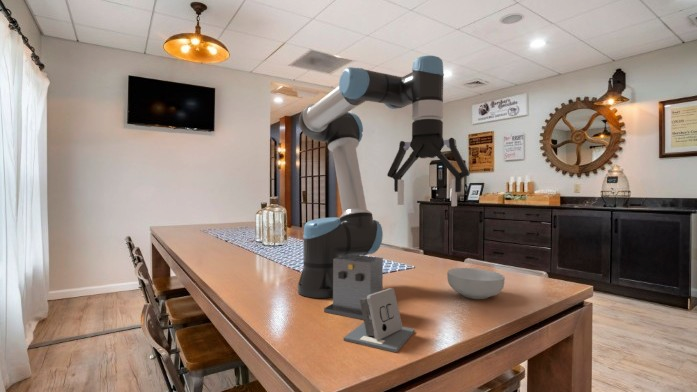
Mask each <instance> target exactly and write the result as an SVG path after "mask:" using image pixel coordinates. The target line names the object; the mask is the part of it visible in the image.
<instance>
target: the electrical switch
mask: <svg viewBox="0 0 697 392" xmlns="http://www.w3.org/2000/svg"><path fill="white" fill-rule="evenodd" d="M397 301H398V300H397V296H396V291H395V289H394V288H393V287H392V288H390V287H389V288H385V289H382V291H380V292H377V293H373V294H370V295H368V296H367V298H363V299H360V304H361V309H362V314H363V319H364V320H363V322H364V324H365V329H366V334H367V336H374V337H375V339H376V340H380V339H382V338H384V337H386V336H389V335H391V334H393V333H395V332H397V331H399V330H401V329H402V327H403V322H402V319H401V314H400V310H399V304H398V302H397ZM368 316H369V319H368ZM369 321H370V322H369Z"/></svg>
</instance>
